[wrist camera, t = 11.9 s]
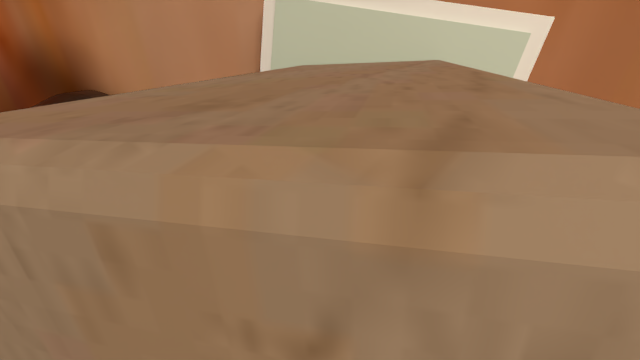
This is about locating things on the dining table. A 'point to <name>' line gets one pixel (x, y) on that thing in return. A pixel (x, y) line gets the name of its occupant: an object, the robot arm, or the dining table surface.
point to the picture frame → (400, 34)
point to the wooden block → (323, 220)
